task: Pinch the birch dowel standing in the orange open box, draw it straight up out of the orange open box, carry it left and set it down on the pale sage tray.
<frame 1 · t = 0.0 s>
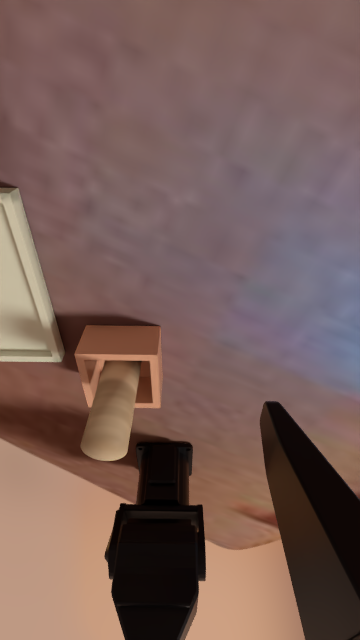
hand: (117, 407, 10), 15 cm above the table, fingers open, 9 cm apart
orange open box: (126, 353, 28), on the table
dowel: (125, 352, 28), resting on orange open box
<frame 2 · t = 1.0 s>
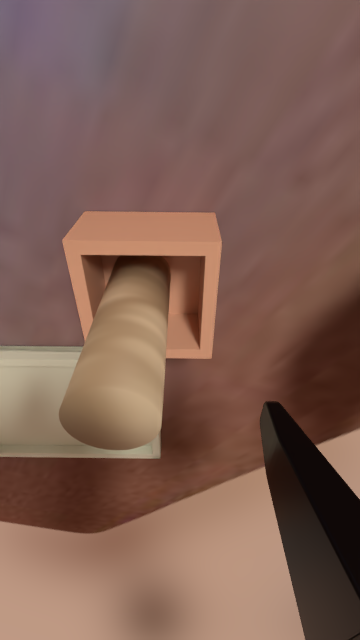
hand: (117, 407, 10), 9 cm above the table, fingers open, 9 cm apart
orange open box: (152, 270, 17), on the table
dowel: (142, 274, 17), resting on orange open box
tray: (64, 402, 24), on the table
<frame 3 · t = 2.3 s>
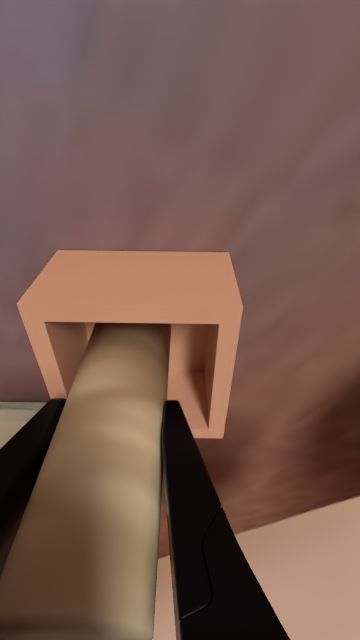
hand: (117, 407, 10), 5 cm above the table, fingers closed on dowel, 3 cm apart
orange open box: (147, 319, 13), on the table
dowel: (134, 327, 13), point 1 cm above the table, touching orange open box, gripper
tray: (45, 458, 20), on the table
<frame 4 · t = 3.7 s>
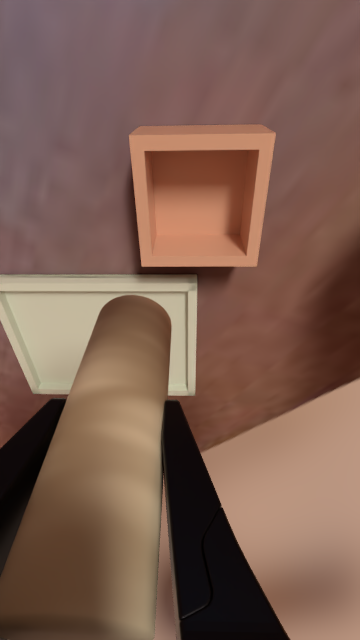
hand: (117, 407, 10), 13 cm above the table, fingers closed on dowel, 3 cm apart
orange open box: (198, 188, 18), on the table
dowel: (134, 326, 13), point 9 cm above the table, touching gripper
tray: (106, 336, 25), on the table
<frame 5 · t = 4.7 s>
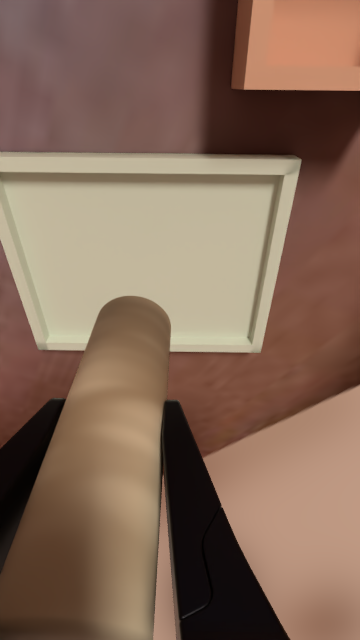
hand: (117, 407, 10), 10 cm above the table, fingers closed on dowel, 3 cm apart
dowel: (134, 326, 13), point 6 cm above the table, touching gripper
tray: (146, 263, 18), on the table
when the fingers open (6 cm above the table, at t = 5.6 s): dowel drops 1 cm, resting on tray.
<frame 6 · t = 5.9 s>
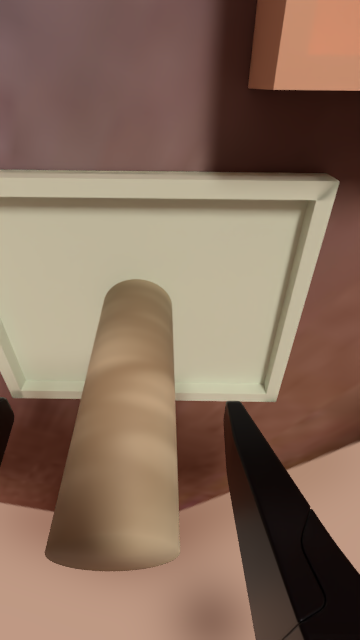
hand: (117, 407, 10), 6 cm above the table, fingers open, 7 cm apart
dowel: (138, 307, 14), point 1 cm above the table, tilted 5°, touching tray
tray: (139, 300, 15), on the table
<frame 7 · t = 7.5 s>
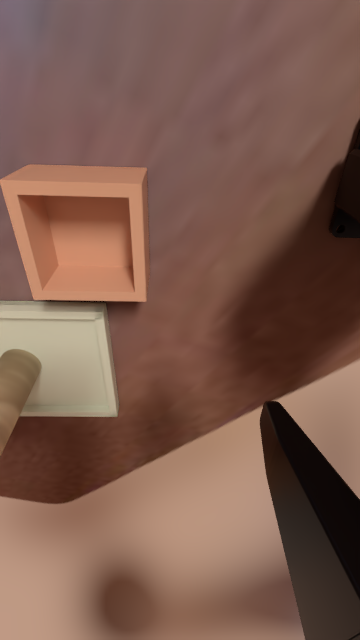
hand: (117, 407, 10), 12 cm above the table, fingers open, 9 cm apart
orange open box: (95, 223, 19), on the table
dowel: (21, 363, 24), point 1 cm above the table, touching tray
tray: (23, 359, 25), on the table
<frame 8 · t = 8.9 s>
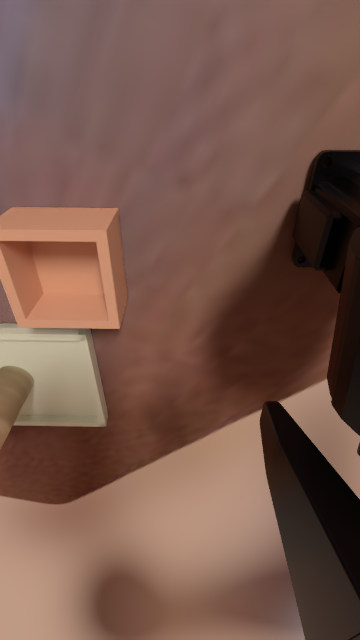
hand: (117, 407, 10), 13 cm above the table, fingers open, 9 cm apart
orange open box: (75, 256, 20), on the table
dowel: (15, 378, 27), point 1 cm above the table, touching tray
tray: (18, 374, 27), on the table
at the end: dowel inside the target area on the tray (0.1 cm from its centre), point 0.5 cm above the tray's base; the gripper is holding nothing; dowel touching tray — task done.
